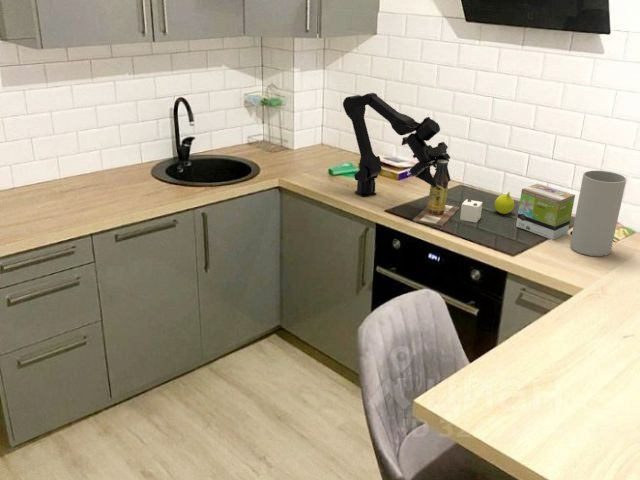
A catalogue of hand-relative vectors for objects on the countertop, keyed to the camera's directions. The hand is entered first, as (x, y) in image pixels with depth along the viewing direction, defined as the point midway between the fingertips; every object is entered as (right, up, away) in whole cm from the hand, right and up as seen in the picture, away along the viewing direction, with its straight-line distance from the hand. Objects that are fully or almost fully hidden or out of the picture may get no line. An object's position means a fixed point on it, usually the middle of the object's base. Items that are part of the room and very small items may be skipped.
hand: (442, 183), depth 230 cm
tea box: (+33, -17, -6) cm, 38 cm away
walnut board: (-1, -11, +6) cm, 12 cm away
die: (+11, -12, +3) cm, 17 cm away
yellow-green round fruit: (+24, -10, +9) cm, 28 cm away
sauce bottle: (-1, -10, +6) cm, 12 cm away
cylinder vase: (+44, -24, -21) cm, 54 cm away
